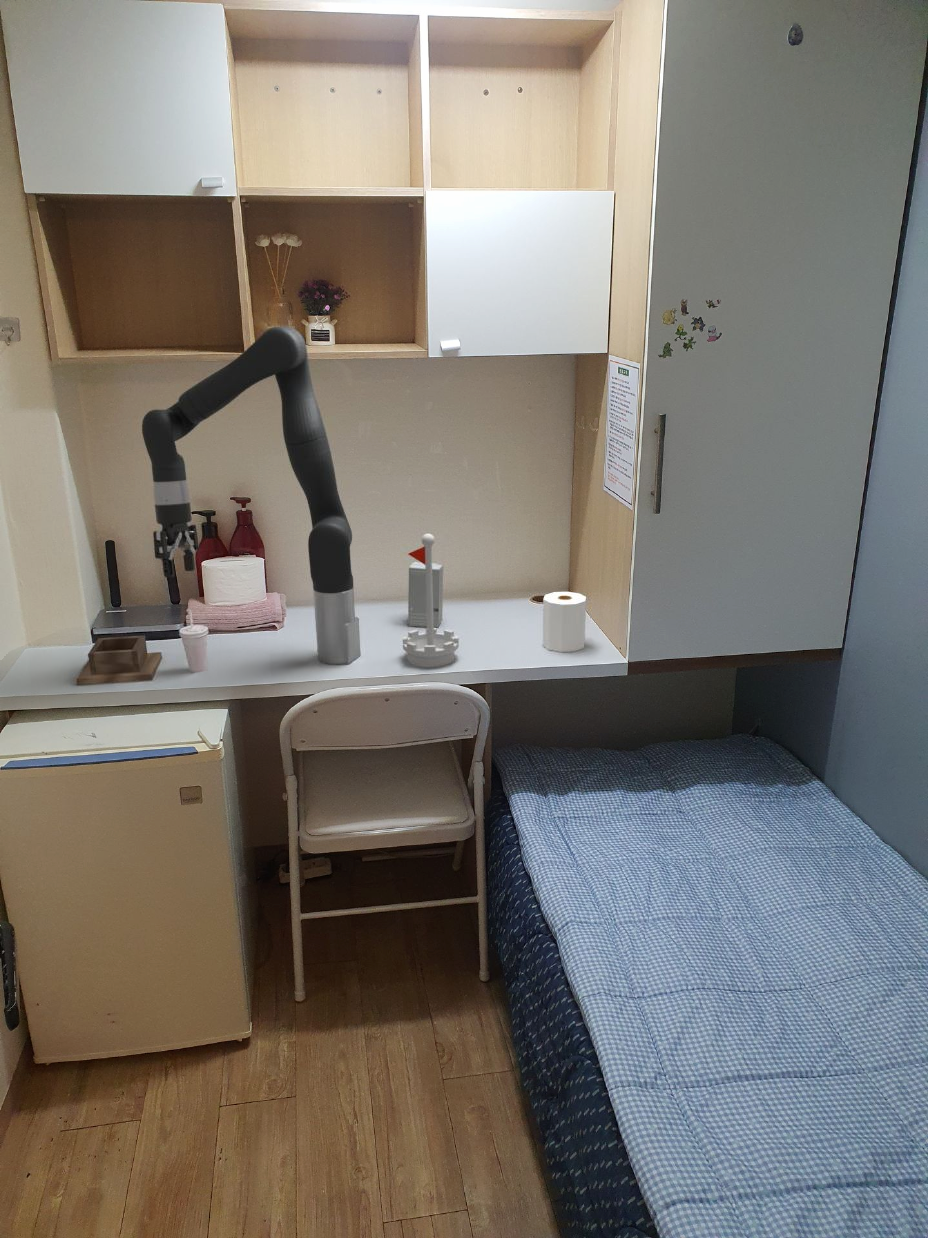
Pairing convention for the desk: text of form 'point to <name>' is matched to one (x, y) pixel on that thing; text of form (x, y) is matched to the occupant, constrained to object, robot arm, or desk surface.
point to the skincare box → (424, 594)
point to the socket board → (119, 661)
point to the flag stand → (429, 623)
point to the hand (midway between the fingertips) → (180, 573)
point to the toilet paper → (564, 621)
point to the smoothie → (195, 645)
